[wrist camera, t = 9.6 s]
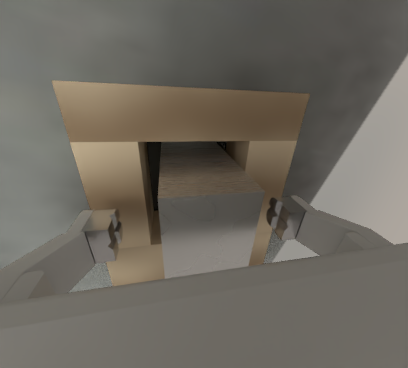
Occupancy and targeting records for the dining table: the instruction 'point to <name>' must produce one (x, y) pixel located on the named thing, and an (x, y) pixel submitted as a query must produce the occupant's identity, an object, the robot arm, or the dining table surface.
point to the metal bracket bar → (205, 209)
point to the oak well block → (171, 132)
